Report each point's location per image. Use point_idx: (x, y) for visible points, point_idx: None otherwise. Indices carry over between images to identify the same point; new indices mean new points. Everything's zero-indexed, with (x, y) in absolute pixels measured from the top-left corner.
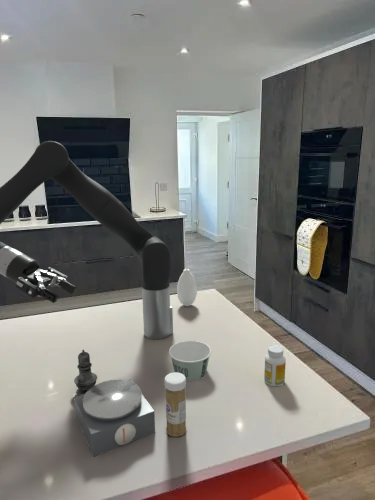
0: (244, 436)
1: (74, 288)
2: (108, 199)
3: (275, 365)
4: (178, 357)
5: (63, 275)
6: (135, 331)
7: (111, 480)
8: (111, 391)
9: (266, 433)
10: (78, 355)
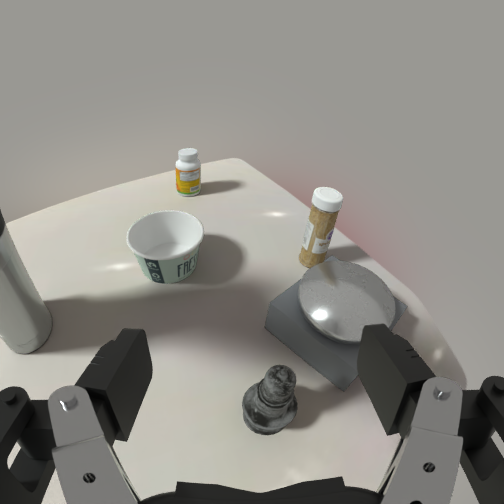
0: (292, 211)
1: (144, 334)
2: None
3: (200, 165)
4: (145, 269)
5: (5, 411)
6: (11, 373)
7: (403, 298)
8: (339, 301)
9: (280, 199)
10: (290, 388)
